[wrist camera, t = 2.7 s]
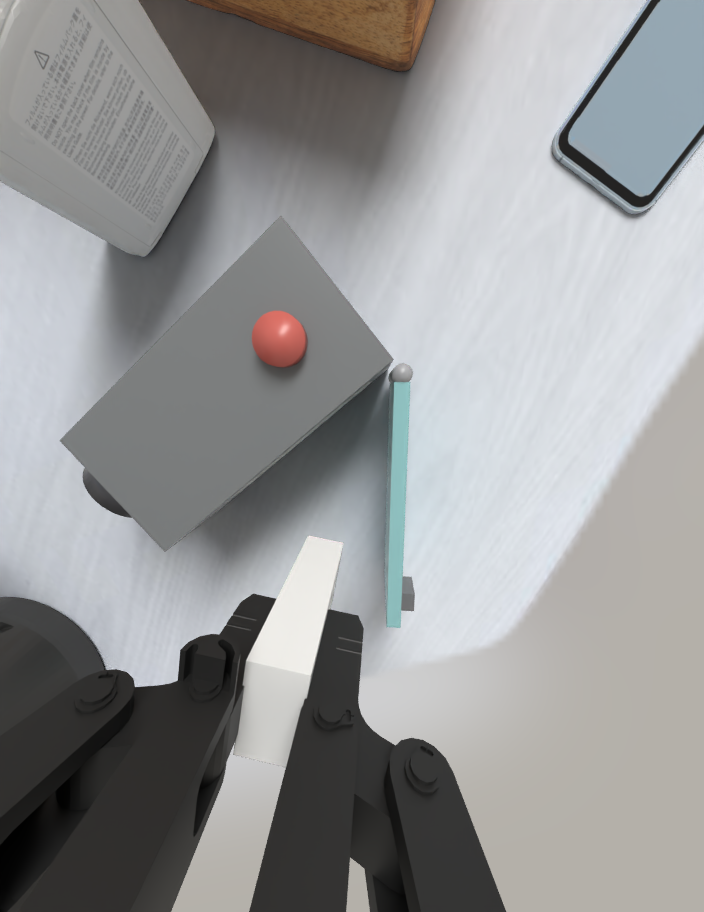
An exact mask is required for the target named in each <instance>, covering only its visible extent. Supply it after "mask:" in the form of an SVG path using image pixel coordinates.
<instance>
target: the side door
mask: <svg viewBox="0 0 704 912" xmlns="http://www.w3.org/2000/svg"><path fill="white" fill-rule="evenodd" d="M412 375H413V372H412V369H411V367H410V366H409V365H407V364H403V363H402V364H399V365H397V366H396V367H395V368H394V369H393V370H392V371H391V372H390V374H389V377H388V379H389V382H390V392H389V427H388V462H387V497H386V532H385V567H384V576H385V600H386V624H387V627H395V628H400V625H401V610H402V611H414V597H415V594H414V588H413V583H412V577H402V576H403V551H404V526H405V501H406V477H407V452H408V427H409V402H410V382H409V381H410V380H411V378H412Z"/></svg>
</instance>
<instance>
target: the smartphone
mask: <svg viewBox="0 0 704 912" xmlns="http://www.w3.org/2000/svg"><path fill="white" fill-rule="evenodd" d="M703 140H704V0H646V1H645V3H644V4H643V6H642V7H641V9H640V10H639V12H638V13H637V15H636V16H635V18H634V19H633V20H632V22H631V23H630V25H629V26H628V28H627V29H626V31H625V32H624V34H623V35H622V37H621V38H620V40H619V41H618V43H617V44H616V46H615V47H614V48H613V50H612V51H611V53H610V54H609V56H608V57H607V59H606V60H605V62H604V63H603V65H602V66H601V68H600V69H599V71H598V72H597V74H596V75H595V77H594V78H593V79H592V81H591V82H590V84H589V85H588V87H587V88H586V90H585V91H584V93H583V94H582V96H581V97H580V99H579V100H578V102H577V103H576V105H575V106H574V108H573V109H572V110H571V112H570V113H569V115H568V116H567V118H566V119H565V121H564V122H563V124H562V125H561V127H560V128H559V130H558V131H557V133H556V134H555V136H554V139H553V142H552V151H553V154H554V156H555V158H556V159H557V160H558V161H559V162H561V163H562V164H563V165H565V166H566V167H567V168H569V169H570V170H572V171H573V172H575V174H578V176H579V177H580V178H582V179H583V180H585V181H586V182H587V183H590V184H591V185H592V186H594V187H595V188H596V190H598V191H599V192H600V193H602V194H603V195H604V196H606V197H608V199H611V201H614V203H616V205H619V207H622V209H623V210H624V211H626V212H627V213H630V214H638V213H641V212H643V211H645V210H647V209H648V208H650V207H651V206H652V205H653V204H654V203H655V202H656V201H657V200H658V198H659V197H660V196H661V194H662V193H663V192H664V191H665V189H666V188H667V187H668V185H669V184H670V183H671V182H672V180H673V179H674V178H675V176H676V175H677V174H678V173H679V171H680V170H681V169H682V167H683V166H684V165H685V164H686V162H687V161H688V160H689V158H690V157H691V156H692V155H693V153H694V152H695V151H696V149H697V148H698V147H699V146H700V144H701V143H702V142H703Z"/></svg>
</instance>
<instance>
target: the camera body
mask: <svg viewBox="0 0 704 912" xmlns="http://www.w3.org/2000/svg"><path fill="white" fill-rule="evenodd" d="M393 360H394V359H393V358H392V357H391V355H390V354H389V353H388V352H387V350H386V349H385V348H384V347H383V345H382V344H381V343H380V341H379V340H378V339H377V338H376V336H375V335H374V334H373V332H372V331H371V330H370V329H369V327H368V326H367V325H366V324H365V322H364V321H363V320H362V318H361V317H360V316H359V315H358V313H357V312H356V311H355V310H354V308H353V307H352V306H351V304H350V303H349V302H348V301H347V299H346V298H345V297H344V295H343V294H342V293H341V292H340V290H339V289H338V288H337V287H336V285H335V284H334V283H333V281H332V280H331V279H330V278H329V276H328V275H327V274H326V272H325V271H324V270H323V269H322V267H321V266H320V265H319V264H318V262H317V261H316V260H315V258H314V257H313V256H312V255H311V253H310V252H309V251H308V249H307V248H306V247H305V246H304V244H303V243H302V242H301V241H300V239H299V238H298V237H297V235H296V234H295V233H294V232H293V230H292V229H291V228H290V226H289V225H288V224H287V223H286V221H285V220H284V219H283V218H282V216H280V217H279V218H278V219H277V220H276V221H275V222H274V223H273V224H272V225H271V226H270V227H269V228H268V229H267V230H266V231H265V232H264V233H263V234H262V235H261V237H260V238H259V239H258V240H257V241H256V242H255V243H254V244H253V245H252V246H251V247H250V248H249V249H248V250H247V251H246V252H245V253H244V254H243V255H242V256H241V257H240V258H239V259H238V260H237V261H236V262H235V263H234V264H233V265H232V266H231V267H230V268H229V269H228V270H227V271H226V272H225V273H224V274H223V275H222V276H221V277H220V278H219V279H218V280H217V281H216V282H215V283H214V284H213V285H212V286H211V287H210V288H209V289H208V290H207V291H206V292H205V293H204V294H203V295H202V296H201V297H200V298H199V299H198V301H197V302H196V303H195V304H194V305H193V306H192V307H191V308H190V309H189V310H188V311H187V312H186V313H185V314H184V315H183V316H182V317H181V318H180V319H179V320H178V321H177V322H176V323H175V324H174V325H173V326H172V327H171V328H170V329H169V330H168V331H167V332H166V333H165V334H164V335H163V336H162V337H161V338H160V339H159V340H158V341H157V342H156V343H155V344H154V345H153V346H152V347H151V348H150V349H149V350H148V351H147V352H146V353H145V354H144V355H143V356H142V357H141V358H140V359H139V360H138V361H137V362H136V363H135V364H134V366H133V367H132V368H131V369H130V370H129V371H128V372H127V373H126V374H125V375H124V376H123V377H122V378H121V379H120V380H119V381H118V382H117V383H116V384H115V385H114V386H113V387H112V388H111V389H110V390H109V391H108V392H107V393H106V394H105V395H104V396H103V397H102V398H101V399H100V400H99V401H98V402H97V403H96V404H95V405H94V406H93V407H92V408H91V409H90V410H89V411H88V412H87V413H86V414H85V415H84V416H83V417H82V418H81V419H80V420H79V421H78V422H77V423H76V424H75V425H74V426H73V427H72V428H71V429H70V431H69V432H68V433H67V434H66V435H65V436H64V437H63V438H62V439H61V440H60V442H61V443H62V444H63V445H64V446H65V447H66V448H67V449H68V450H69V451H70V452H71V453H72V454H73V455H74V456H75V457H76V458H77V460H78V461H79V462H80V463H81V464H82V465H83V466H84V467H85V469H84V471H83V482H84V485H85V487H86V489H87V491H88V493H89V494H90V495H91V497H92V498H93V499H94V500H95V501H96V502H97V503H99V504H100V505H101V506H102V507H104V508H106V509H107V510H109V511H111V512H113V513H115V514H118V515H121V516H124V517H130V518H133V519H134V520H135V521H136V522H137V523H138V524H139V525H140V526H141V527H142V528H143V529H144V530H145V531H146V532H147V533H148V535H149V536H150V537H151V538H152V539H153V540H154V541H155V542H156V543H157V544H158V545H159V546H160V547H161V548H162V549H163V550H164V551H167V550H168V549H169V548H171V547H172V546H173V545H174V544H176V543H177V542H178V541H180V540H181V539H182V538H183V537H185V536H186V535H187V534H189V533H190V532H191V531H193V530H194V529H195V528H196V527H198V526H199V525H200V524H202V523H203V522H204V521H205V520H207V519H208V518H209V517H211V516H212V515H213V514H215V513H216V512H217V511H218V510H220V509H221V508H222V507H224V506H225V505H226V504H228V503H229V502H230V501H231V500H232V499H233V498H235V497H236V496H237V495H238V494H239V493H241V492H242V491H243V490H244V489H245V488H247V487H248V486H249V485H250V484H251V483H253V482H254V481H255V480H256V479H257V478H259V477H260V476H261V475H262V474H263V473H264V472H266V471H267V470H268V469H269V468H270V467H272V466H273V465H274V464H275V463H276V462H278V461H279V460H280V459H281V458H282V457H284V456H285V455H286V454H287V453H288V452H290V451H291V450H292V449H293V448H294V447H296V446H297V445H298V444H299V443H300V442H301V441H303V440H304V439H305V438H306V437H307V436H309V435H310V434H311V433H312V432H313V431H315V430H316V429H317V428H318V427H319V426H321V425H322V424H323V423H324V422H325V421H327V420H328V419H329V418H330V417H331V416H332V415H334V414H335V413H336V412H337V411H338V410H340V409H341V408H342V407H343V406H344V405H346V404H347V403H348V402H349V401H350V400H352V399H353V398H354V397H355V396H356V395H358V394H359V393H360V392H361V391H362V390H364V389H365V388H366V387H367V386H368V385H369V384H371V383H372V382H373V381H374V380H375V379H377V378H378V377H379V376H380V375H381V374H383V373H384V372H385V371H386V370H387V369H388V368H389V366H390V365H391V363H392V361H393Z"/></svg>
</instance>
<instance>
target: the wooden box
mask: <svg viewBox="0 0 704 912" xmlns="http://www.w3.org/2000/svg"><path fill="white" fill-rule="evenodd" d="M187 1H190V2H193V3H196V4H199V5H201V6H205V7H208V8H211V9H214V10H217V11H220V12H224V13H233V14H236V15H238V16H240V17H243V18H245V19H248V20H250V21H253V22H254V23H256V24H259V25H261V26H264V27H267V28H270V29H273V30H276V31H279V32H282V33H285V34H288V35H291V36H294V37H297V38H300V39H303V40H306V41H308V42H311V43H314V44H317V45H320V46H323V47H326V48H329V49H332V50H335V51H337V52H340V53H344V54H346V55H349V56H352V57H355V58H358V59H360V60H363V61H366V62H368V63H371V64H374V65H377V66H380V67H383V68H386V69H390V70H394V71H407V70H410V69H411V67H412V65H413V63H414V61H415V58H416V55H417V53H418V50H419V47H420V45H421V42H422V39H423V37H424V34H425V31H426V27H427V24H428V22H429V19H430V15H431V12H432V9H433V6H434V3H435V0H187Z"/></svg>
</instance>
